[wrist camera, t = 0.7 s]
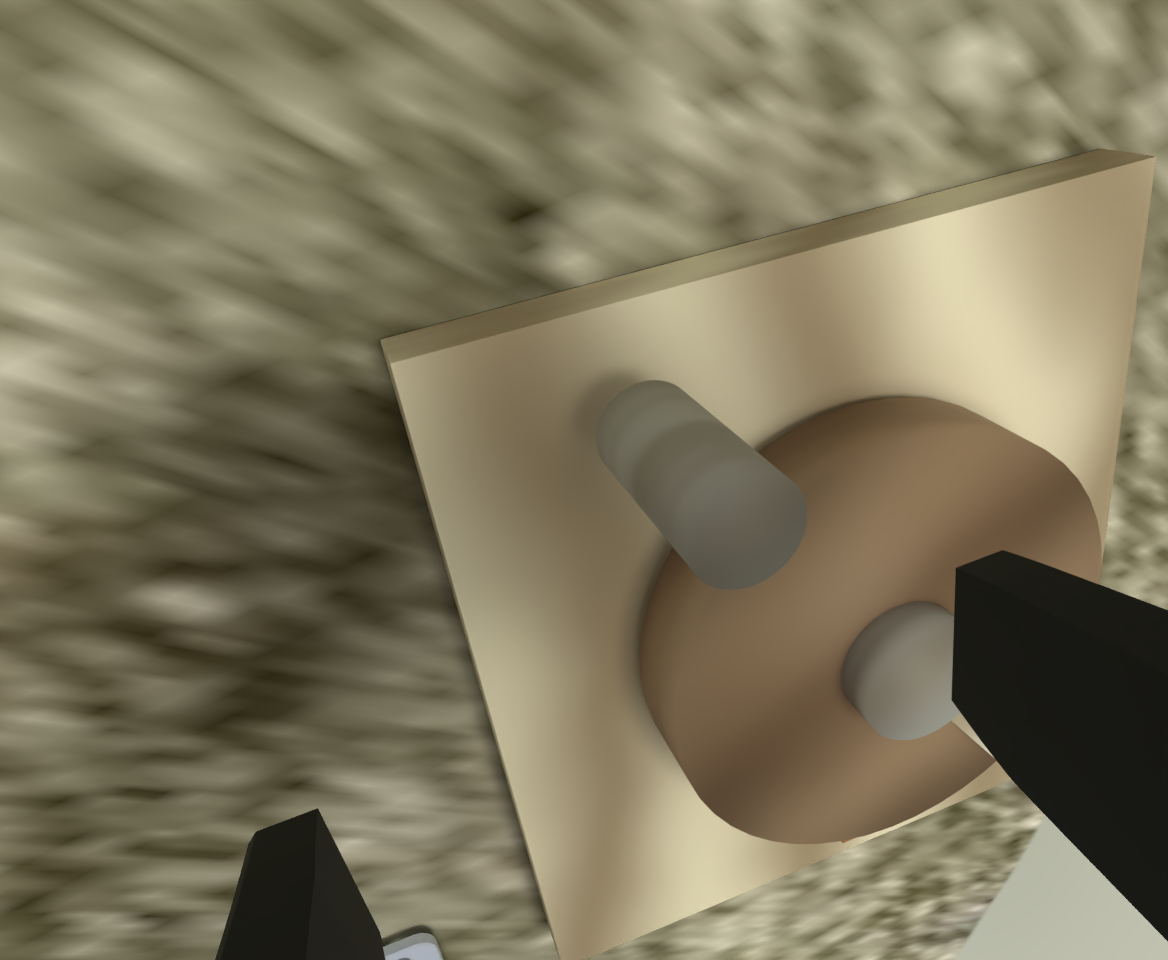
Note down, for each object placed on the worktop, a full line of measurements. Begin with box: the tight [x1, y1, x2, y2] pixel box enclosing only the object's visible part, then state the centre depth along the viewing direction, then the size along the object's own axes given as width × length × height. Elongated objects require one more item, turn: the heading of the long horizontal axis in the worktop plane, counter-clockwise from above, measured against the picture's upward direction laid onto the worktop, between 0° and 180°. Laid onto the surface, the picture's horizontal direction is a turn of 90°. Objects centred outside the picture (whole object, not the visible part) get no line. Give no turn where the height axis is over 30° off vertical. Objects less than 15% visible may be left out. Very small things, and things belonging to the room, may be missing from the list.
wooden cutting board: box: [380, 149, 1156, 960], centre depth 23 cm, size 17×18×2 cm
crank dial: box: [596, 380, 1102, 844], centre depth 19 cm, size 15×11×5 cm
